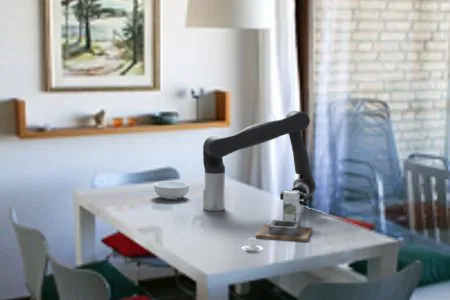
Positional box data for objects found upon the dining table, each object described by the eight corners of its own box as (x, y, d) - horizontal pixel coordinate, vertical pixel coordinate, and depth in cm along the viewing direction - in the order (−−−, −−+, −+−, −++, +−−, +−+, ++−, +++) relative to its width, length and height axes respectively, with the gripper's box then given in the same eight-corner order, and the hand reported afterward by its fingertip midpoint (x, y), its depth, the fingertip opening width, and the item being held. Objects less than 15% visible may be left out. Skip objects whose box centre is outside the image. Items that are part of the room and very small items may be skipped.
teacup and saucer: (252, 254, 263) (252, 243, 263) (235, 250, 269) (235, 239, 268) (267, 249, 270) (267, 238, 269) (250, 245, 275) (251, 234, 274)
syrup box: (298, 223, 307) (299, 190, 305) (295, 226, 302) (296, 192, 300) (285, 222, 309) (286, 189, 307) (282, 225, 304) (283, 191, 302)
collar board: (255, 238, 284) (256, 227, 283) (264, 227, 301) (264, 217, 301) (306, 241, 279) (307, 231, 279) (312, 230, 297) (312, 220, 296)
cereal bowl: (150, 201, 348) (150, 186, 347) (159, 194, 364) (159, 180, 363) (184, 202, 345) (184, 188, 344) (192, 195, 362) (192, 181, 361)
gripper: (284, 183, 331) (278, 190, 315) (315, 185, 328) (311, 192, 312) (283, 199, 332) (278, 207, 316) (315, 201, 329) (310, 209, 313)
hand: (294, 199), depth 314 cm, fingers open, 8 cm apart
